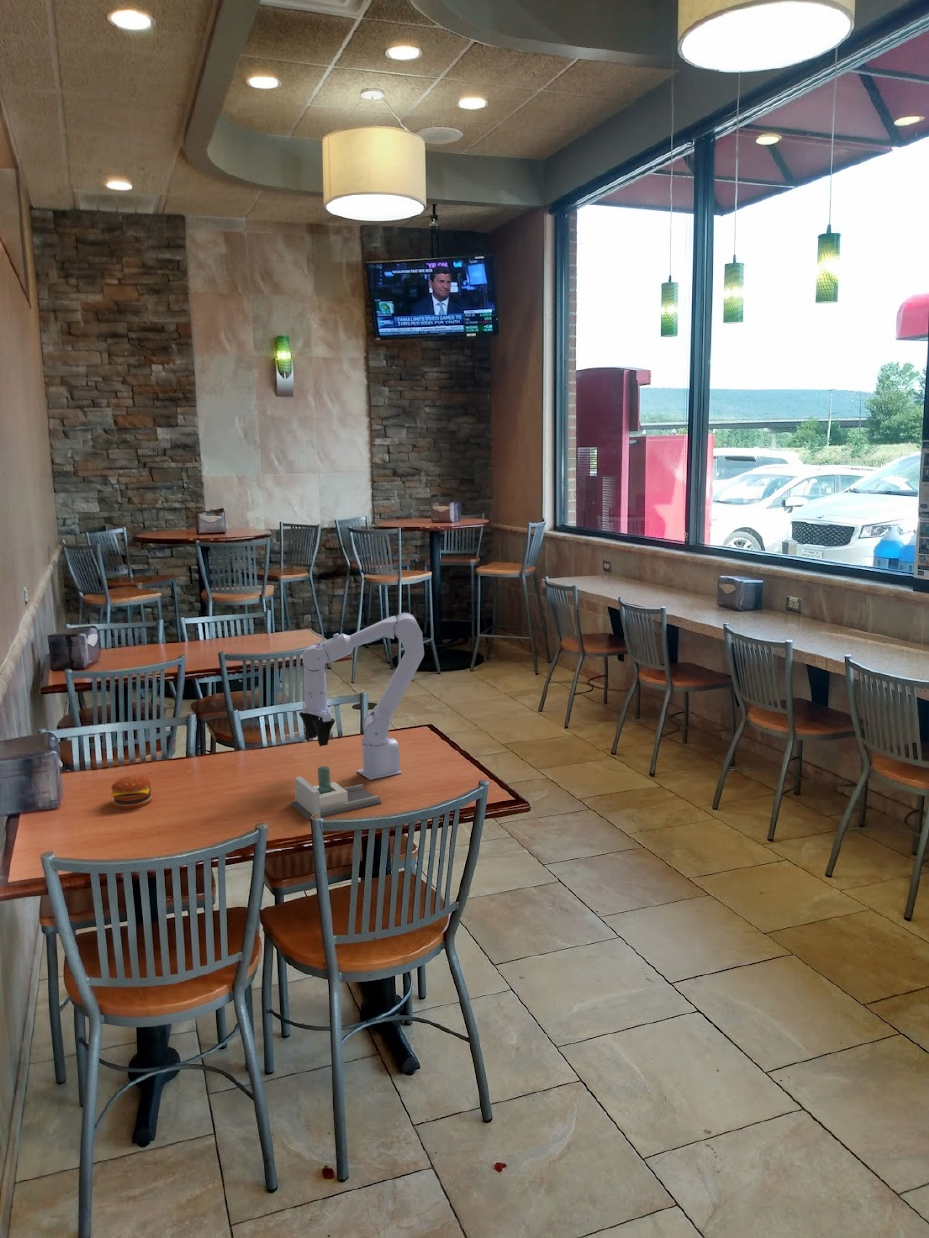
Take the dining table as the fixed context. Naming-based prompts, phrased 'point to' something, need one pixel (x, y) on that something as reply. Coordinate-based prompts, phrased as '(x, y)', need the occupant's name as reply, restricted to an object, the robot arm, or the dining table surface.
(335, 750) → the dining table surface
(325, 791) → the dowel
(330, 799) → the sliding block
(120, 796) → the hamburger
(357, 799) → the base
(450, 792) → the dining table surface
